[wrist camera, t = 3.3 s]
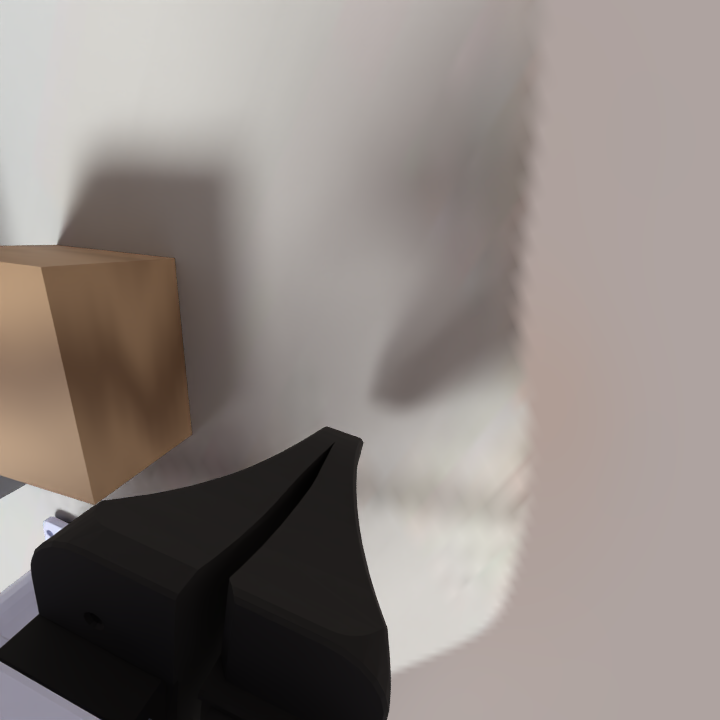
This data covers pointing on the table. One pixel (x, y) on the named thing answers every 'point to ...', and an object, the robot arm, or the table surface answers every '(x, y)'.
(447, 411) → the table surface
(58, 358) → the tan block
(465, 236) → the table surface
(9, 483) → the gray rectangular bar
